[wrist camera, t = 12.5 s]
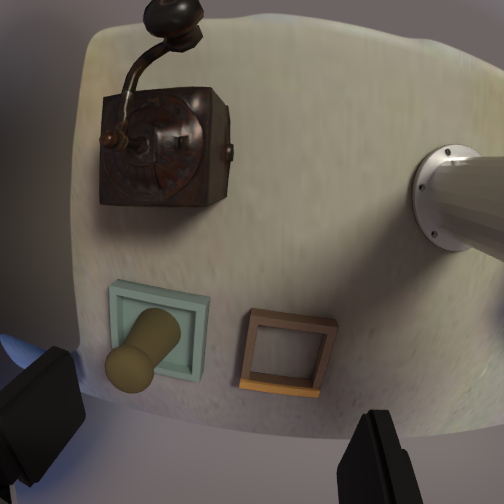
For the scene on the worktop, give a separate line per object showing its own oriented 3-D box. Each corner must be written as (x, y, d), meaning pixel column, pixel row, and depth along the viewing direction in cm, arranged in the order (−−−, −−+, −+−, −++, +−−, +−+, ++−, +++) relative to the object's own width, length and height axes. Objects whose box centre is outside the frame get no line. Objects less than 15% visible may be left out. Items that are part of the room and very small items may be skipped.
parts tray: (210, 296, 37) (205, 304, 35) (203, 372, 40) (199, 382, 38) (117, 279, 38) (109, 285, 36) (120, 352, 41) (113, 361, 38)
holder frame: (335, 319, 37) (339, 329, 34) (316, 386, 39) (318, 397, 37) (252, 307, 37) (250, 317, 35) (241, 376, 40) (239, 387, 37)
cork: (176, 356, 39) (147, 410, 28) (133, 340, 39) (95, 388, 29) (185, 317, 38) (154, 367, 27) (140, 300, 38) (97, 343, 27)
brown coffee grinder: (233, 200, 35) (187, 230, 17) (138, 199, 35) (35, 225, 18) (238, 63, 31) (203, -24, 13) (144, 70, 32) (53, 12, 14)
